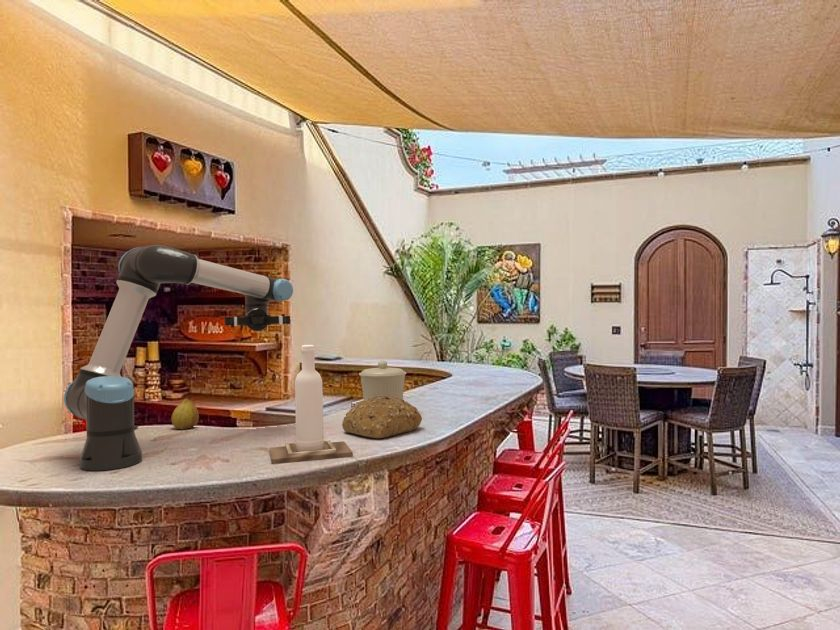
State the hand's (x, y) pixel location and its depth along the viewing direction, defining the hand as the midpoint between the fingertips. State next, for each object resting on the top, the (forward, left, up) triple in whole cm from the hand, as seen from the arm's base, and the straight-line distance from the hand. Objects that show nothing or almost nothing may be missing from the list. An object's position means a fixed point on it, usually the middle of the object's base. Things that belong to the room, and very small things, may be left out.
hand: (258, 321), depth 180 cm
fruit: (-25, +35, -38) cm, 58 cm away
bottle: (+13, -18, -37) cm, 43 cm away
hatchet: (-45, +32, -39) cm, 67 cm away
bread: (+39, +5, -38) cm, 55 cm away
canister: (+46, +31, -38) cm, 67 cm away
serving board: (+13, -18, -38) cm, 44 cm away
